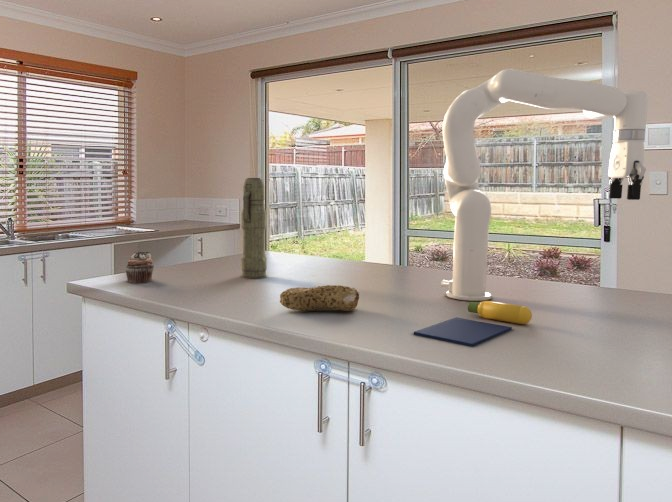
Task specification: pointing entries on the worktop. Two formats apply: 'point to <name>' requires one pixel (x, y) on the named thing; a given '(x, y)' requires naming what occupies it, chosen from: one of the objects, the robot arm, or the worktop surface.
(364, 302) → the worktop surface
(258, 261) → the thermos
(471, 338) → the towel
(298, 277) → the worktop surface
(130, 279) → the cupcake
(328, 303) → the sponge
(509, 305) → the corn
